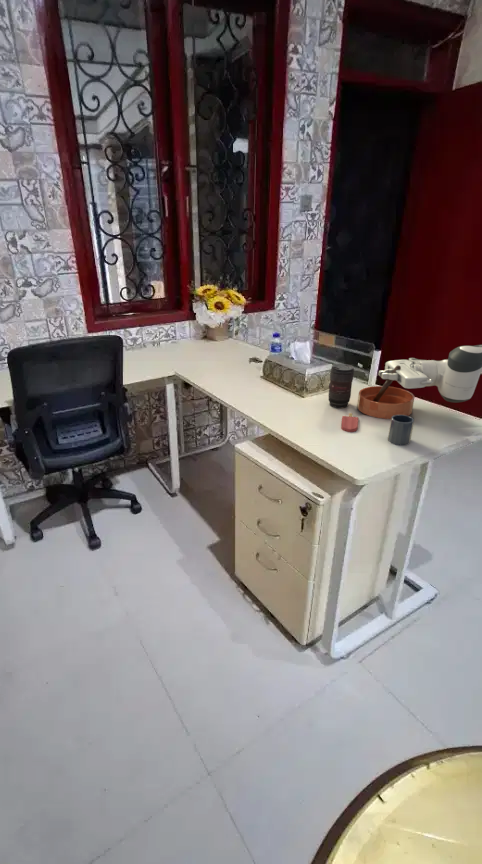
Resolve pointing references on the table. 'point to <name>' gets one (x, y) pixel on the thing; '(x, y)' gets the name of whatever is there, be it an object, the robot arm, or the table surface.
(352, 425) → the popsicle
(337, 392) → the camera lens
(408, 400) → the bowl
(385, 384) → the stick
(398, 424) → the cup
